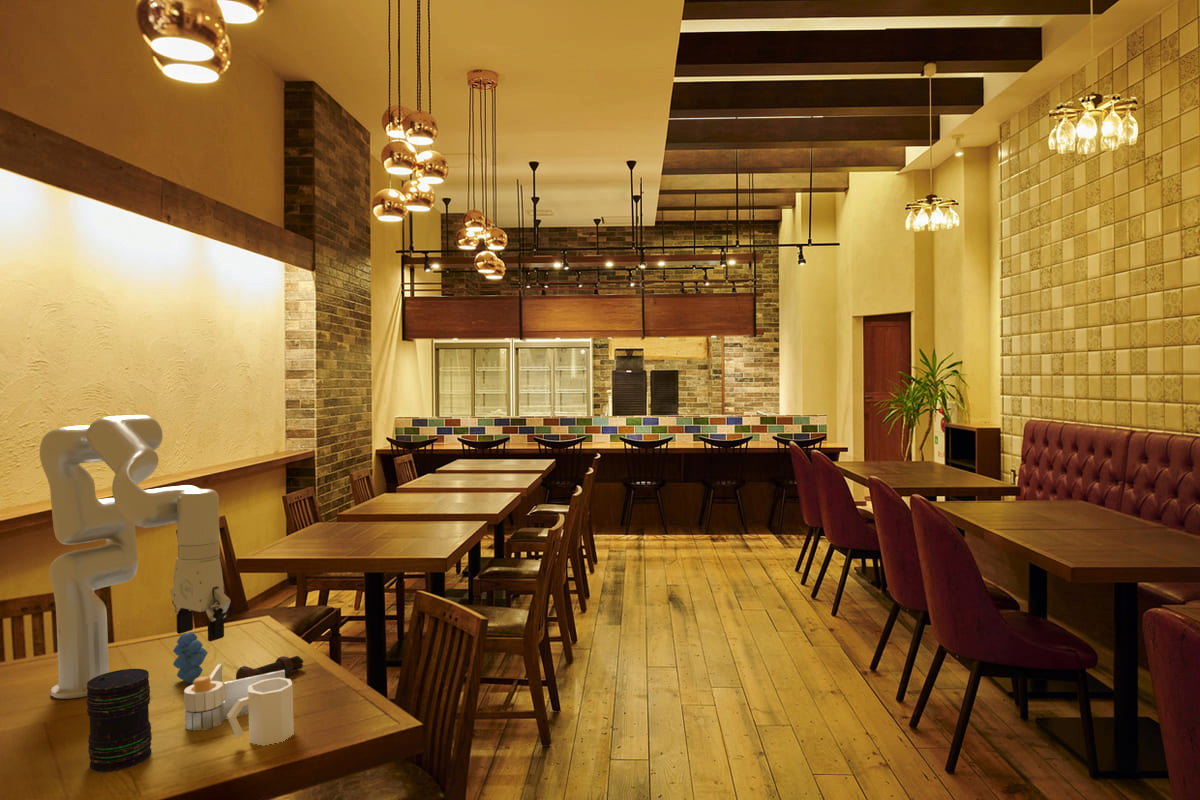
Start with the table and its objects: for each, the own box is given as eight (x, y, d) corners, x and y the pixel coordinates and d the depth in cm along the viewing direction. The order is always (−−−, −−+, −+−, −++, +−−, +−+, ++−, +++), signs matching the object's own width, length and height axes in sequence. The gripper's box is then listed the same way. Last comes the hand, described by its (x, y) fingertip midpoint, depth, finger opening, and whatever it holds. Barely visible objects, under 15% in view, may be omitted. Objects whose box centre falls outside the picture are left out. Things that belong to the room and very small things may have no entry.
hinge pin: (196, 727, 156) (192, 683, 156) (197, 721, 159) (194, 678, 158) (213, 724, 157) (209, 680, 157) (214, 718, 160) (210, 675, 160)
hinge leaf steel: (183, 721, 159) (182, 686, 159) (281, 699, 170) (280, 665, 169) (187, 733, 153) (186, 696, 153) (289, 709, 164) (288, 675, 164)
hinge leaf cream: (219, 726, 156) (218, 691, 155) (181, 731, 154) (180, 695, 154) (237, 694, 172) (236, 662, 172) (203, 697, 171) (202, 665, 171)
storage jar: (162, 746, 148) (160, 667, 148) (133, 771, 139) (130, 687, 138) (109, 748, 148) (106, 669, 148) (76, 773, 138) (73, 689, 138)
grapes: (220, 682, 180) (218, 630, 180) (190, 692, 175) (188, 638, 175) (197, 672, 187) (195, 622, 187) (167, 681, 182) (165, 629, 182)
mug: (283, 722, 157) (281, 674, 157) (302, 735, 151) (301, 684, 151) (220, 743, 149) (219, 692, 149) (239, 757, 143) (237, 704, 143)
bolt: (302, 678, 187) (244, 697, 175) (290, 664, 190) (232, 682, 177) (309, 659, 186) (252, 677, 173) (298, 645, 188) (240, 662, 176)
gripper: (154, 550, 158) (155, 634, 159) (209, 559, 150) (211, 648, 151) (189, 543, 165) (190, 624, 165) (243, 552, 157) (245, 636, 157)
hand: (200, 635), depth 158 cm, fingers open, 9 cm apart
